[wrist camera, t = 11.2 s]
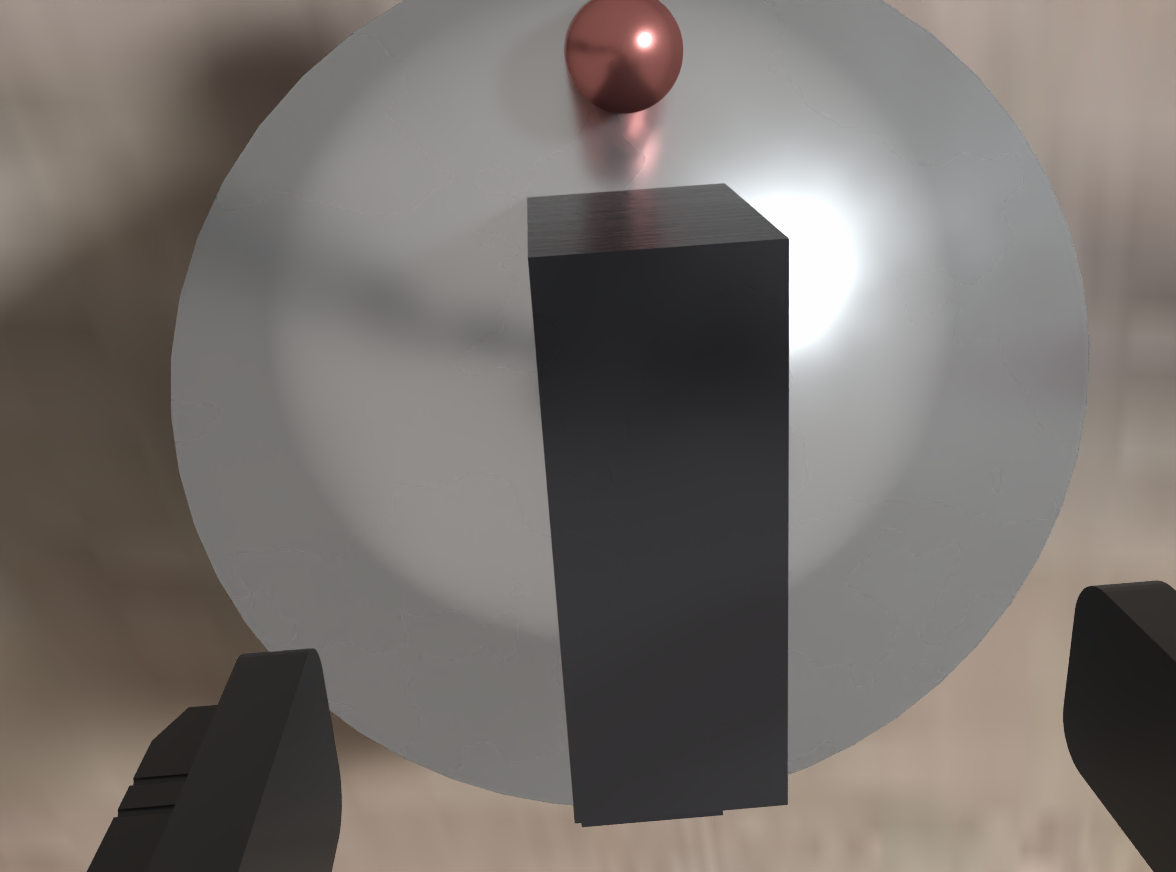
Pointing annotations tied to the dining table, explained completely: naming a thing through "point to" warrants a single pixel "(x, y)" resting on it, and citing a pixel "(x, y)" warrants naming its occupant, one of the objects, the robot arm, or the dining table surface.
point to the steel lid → (630, 386)
